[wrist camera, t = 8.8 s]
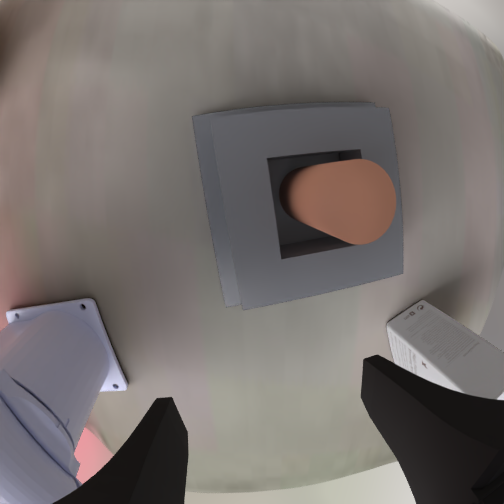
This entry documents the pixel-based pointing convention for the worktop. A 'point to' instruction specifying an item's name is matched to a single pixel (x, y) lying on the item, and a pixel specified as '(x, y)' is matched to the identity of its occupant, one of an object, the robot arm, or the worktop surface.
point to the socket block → (268, 203)
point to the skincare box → (446, 352)
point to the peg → (341, 199)
